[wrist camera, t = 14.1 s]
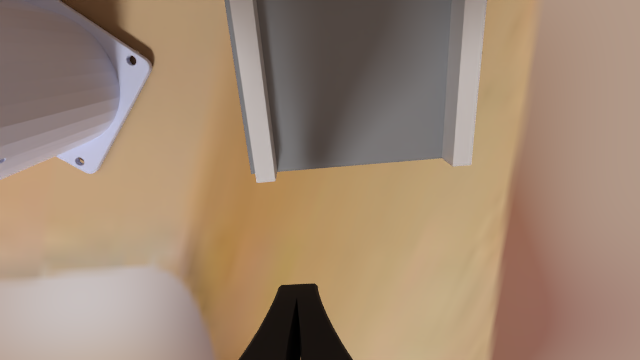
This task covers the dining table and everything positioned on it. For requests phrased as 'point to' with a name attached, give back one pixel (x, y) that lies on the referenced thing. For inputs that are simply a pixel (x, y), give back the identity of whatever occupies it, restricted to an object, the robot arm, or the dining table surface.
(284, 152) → the housing
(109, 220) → the dining table surface
